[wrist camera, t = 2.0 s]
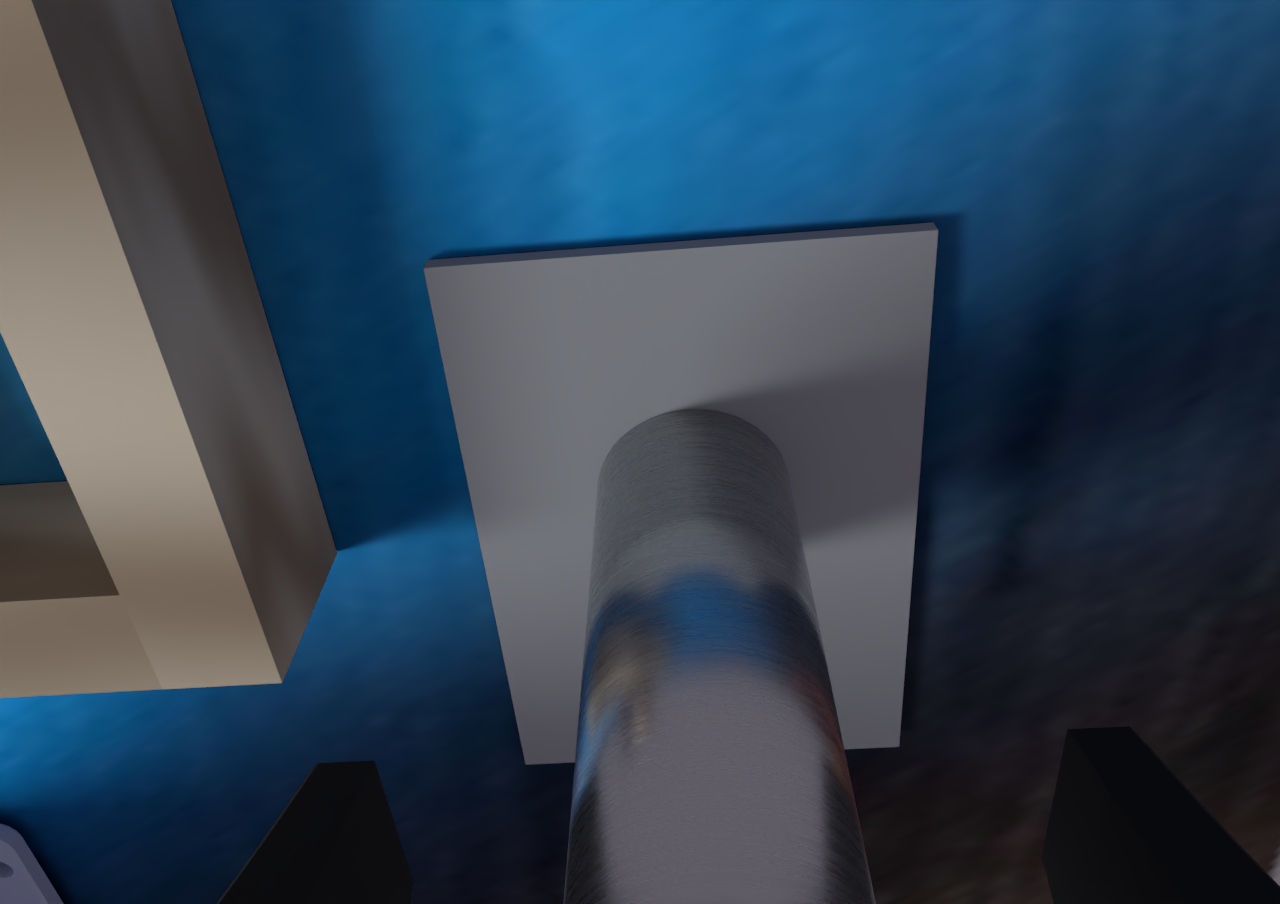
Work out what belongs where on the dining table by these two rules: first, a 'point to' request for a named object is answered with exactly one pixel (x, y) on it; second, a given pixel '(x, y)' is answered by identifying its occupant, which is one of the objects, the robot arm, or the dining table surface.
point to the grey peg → (706, 685)
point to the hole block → (139, 377)
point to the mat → (694, 379)
